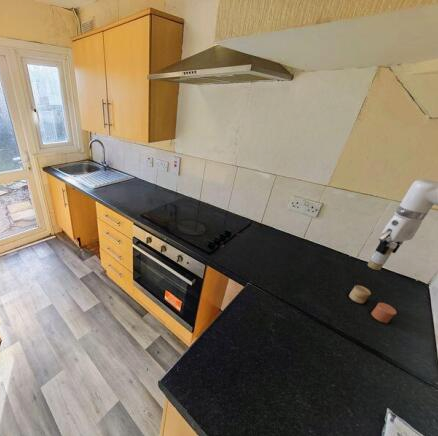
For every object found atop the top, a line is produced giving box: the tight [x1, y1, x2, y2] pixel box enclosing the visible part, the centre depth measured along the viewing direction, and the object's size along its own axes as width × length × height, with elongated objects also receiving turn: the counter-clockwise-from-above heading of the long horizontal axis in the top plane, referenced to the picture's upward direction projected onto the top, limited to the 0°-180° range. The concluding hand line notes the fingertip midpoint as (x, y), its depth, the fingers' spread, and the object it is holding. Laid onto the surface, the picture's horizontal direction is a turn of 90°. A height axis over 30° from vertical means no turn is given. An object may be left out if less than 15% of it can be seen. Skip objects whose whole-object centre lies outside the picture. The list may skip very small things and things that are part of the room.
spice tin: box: [348, 284, 372, 304], centre depth 93 cm, size 5×5×5 cm
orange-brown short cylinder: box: [370, 302, 397, 324], centre depth 85 cm, size 5×5×5 cm
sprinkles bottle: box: [367, 239, 397, 271], centre depth 95 cm, size 5×5×14 cm
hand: (385, 251), depth 93 cm, fingers closed on sprinkles bottle, 4 cm apart
